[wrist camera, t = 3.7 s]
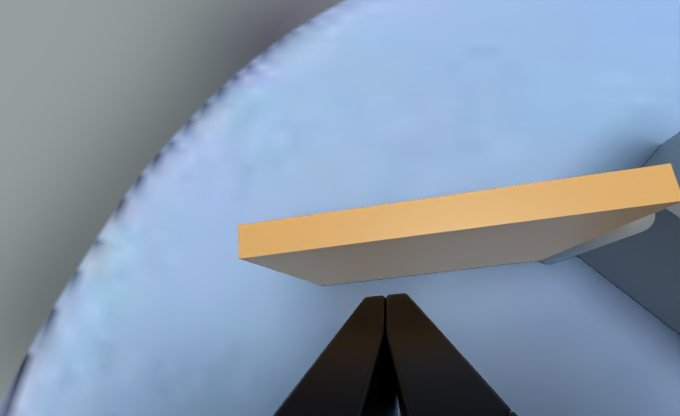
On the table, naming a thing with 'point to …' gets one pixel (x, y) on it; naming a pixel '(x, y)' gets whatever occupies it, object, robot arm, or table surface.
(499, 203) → the door
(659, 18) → the table surface
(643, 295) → the block
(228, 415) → the table surface
